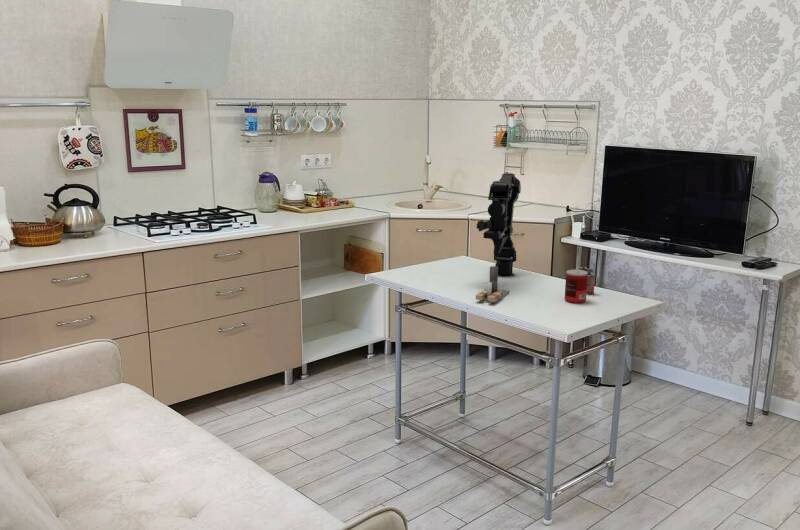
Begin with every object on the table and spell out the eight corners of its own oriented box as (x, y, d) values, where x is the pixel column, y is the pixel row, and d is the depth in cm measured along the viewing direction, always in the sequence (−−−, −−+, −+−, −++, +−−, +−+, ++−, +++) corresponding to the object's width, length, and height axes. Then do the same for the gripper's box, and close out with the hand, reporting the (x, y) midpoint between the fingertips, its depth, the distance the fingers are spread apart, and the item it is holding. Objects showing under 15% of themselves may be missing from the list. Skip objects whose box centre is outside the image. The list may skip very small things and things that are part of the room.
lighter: (572, 291, 273) (574, 266, 270) (576, 290, 275) (578, 265, 273) (591, 295, 267) (593, 270, 265) (595, 293, 270) (597, 268, 267)
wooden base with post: (485, 292, 265) (486, 265, 262) (503, 295, 262) (504, 267, 259) (475, 299, 256) (476, 270, 254) (493, 301, 253) (495, 273, 251)
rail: (494, 291, 272) (494, 273, 270) (509, 293, 269) (510, 275, 268) (479, 301, 259) (480, 282, 257) (495, 303, 256) (495, 284, 254)
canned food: (586, 299, 263) (588, 270, 260) (584, 304, 255) (587, 275, 253) (565, 297, 265) (567, 268, 263) (563, 302, 258) (565, 273, 255)
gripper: (487, 209, 286) (485, 247, 290) (471, 215, 270) (469, 255, 273) (514, 211, 281) (512, 250, 285) (499, 217, 265) (497, 258, 268)
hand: (497, 253), depth 278 cm, fingers closed
